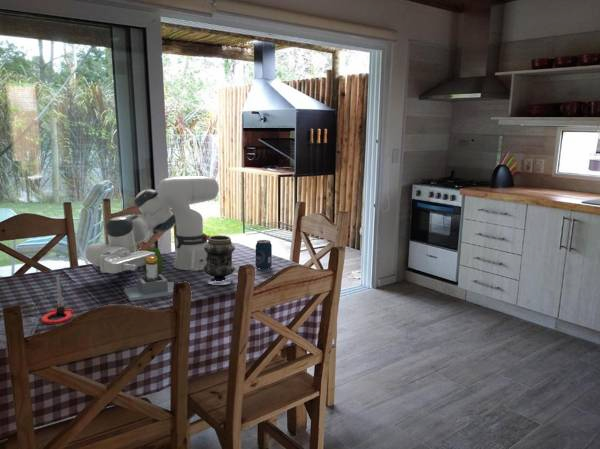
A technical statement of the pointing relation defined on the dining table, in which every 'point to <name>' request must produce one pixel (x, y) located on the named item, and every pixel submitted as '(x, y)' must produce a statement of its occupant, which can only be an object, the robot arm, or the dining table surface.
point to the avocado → (159, 260)
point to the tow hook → (58, 308)
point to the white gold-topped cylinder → (151, 268)
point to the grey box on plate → (150, 288)
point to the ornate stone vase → (219, 257)
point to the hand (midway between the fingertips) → (146, 264)
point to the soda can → (263, 254)
